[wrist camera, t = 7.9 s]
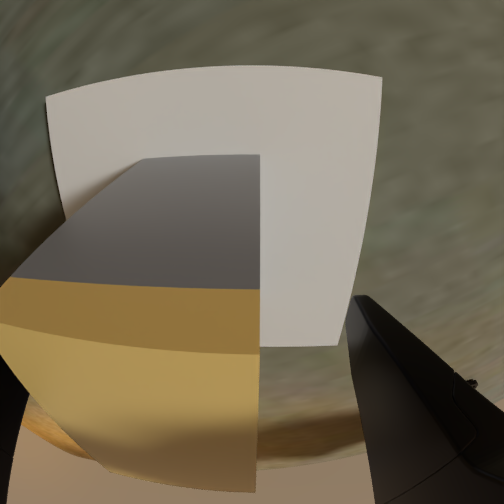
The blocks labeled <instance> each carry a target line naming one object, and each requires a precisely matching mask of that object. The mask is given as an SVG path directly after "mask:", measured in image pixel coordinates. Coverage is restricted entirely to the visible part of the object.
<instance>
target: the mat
mask: <svg viewBox="0 0 504 504" xmlns="http://www.w3.org/2000/svg"><path fill="white" fill-rule="evenodd" d="M381 93H382V77H376V76H371V75H365V74H358V73H352V72H344V71H336V70H327V69H317V68H305V67H289V66H215V67H199V68H187V69H177V70H168V71H160V72H153V73H146V74H140V75H134V76H128V77H123V78H118V79H113V80H108V81H103V82H99V83H94V84H90V85H86V86H82V87H78V88H74V89H71V90H67V91H64V92H60V93H57V94H54V95H50V96H47V97H46V107H47V118H48V126H49V134H50V142H51V149H52V155H53V161H54V167H55V172H56V177H57V182H58V187H59V192H60V196H61V201H62V205H63V209H64V213H65V217H66V221H67V220H68V219H69V218H70V217H71V216H72V215H73V214H74V213H76V212H77V211H78V210H79V209H80V208H81V207H83V206H84V205H85V204H86V203H87V202H88V201H90V200H91V199H92V198H93V197H94V196H96V195H97V194H98V193H99V192H101V191H102V190H103V189H104V188H106V187H107V186H108V185H109V184H111V183H112V182H113V181H114V180H116V179H117V178H118V177H120V176H121V175H122V174H123V173H125V172H126V171H127V170H129V169H130V168H131V167H133V166H134V165H136V164H137V163H138V162H140V161H141V160H142V159H146V158H159V157H175V156H195V155H234V154H260V346H270V347H284V346H329V345H338V341H339V338H340V334H341V330H342V327H343V323H344V319H345V316H346V312H347V308H348V304H349V300H350V296H351V292H352V287H353V283H354V279H355V274H356V270H357V265H358V261H359V256H360V251H361V246H362V241H363V236H364V231H365V225H366V220H367V214H368V208H369V202H370V195H371V189H372V182H373V175H374V167H375V159H376V151H377V142H378V132H379V121H380V108H381Z"/></svg>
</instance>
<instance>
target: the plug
mask: <svg viewBox="0 0 504 504" xmlns="http://www.w3.org/2000/svg"><path fill="white" fill-rule="evenodd" d="M0 355H1V356H2V358H3V359H4V360H5V362H6V363H7V365H8V366H9V367H10V369H11V370H12V371H13V373H14V374H15V375H16V377H17V378H18V379H19V381H20V382H21V383H22V384H23V386H24V387H25V388H26V389H27V391H28V392H29V393H30V394H31V395H32V397H33V398H34V399H35V400H36V401H37V402H38V404H39V405H40V406H41V407H42V408H43V409H44V410H45V411H46V413H47V414H48V415H49V416H50V417H51V418H52V419H53V420H54V421H55V422H56V423H57V424H58V425H59V426H60V427H61V428H62V429H63V430H64V431H65V432H66V433H67V434H68V435H69V436H70V437H71V438H72V439H73V440H74V441H75V442H76V443H77V444H78V445H79V446H80V447H81V448H82V449H84V450H85V451H86V452H87V453H88V454H89V455H90V456H91V457H93V458H94V459H95V460H96V461H97V462H98V463H100V464H101V465H102V466H103V467H104V468H106V469H107V470H108V471H109V472H112V473H116V474H120V475H124V476H127V477H132V478H136V479H140V480H145V481H150V482H155V483H160V484H166V485H172V486H179V487H186V488H194V489H202V490H203V489H204V490H213V491H227V492H248V493H255V491H256V490H255V489H256V463H257V432H258V398H259V360H260V154H234V155H195V156H175V157H159V158H146V159H142V160H141V161H140V162H138V163H137V164H136V165H134V166H133V167H131V168H130V169H129V170H127V171H126V172H125V173H123V174H122V175H121V176H120V177H118V178H117V179H116V180H114V181H113V182H112V183H111V184H109V185H108V186H107V187H106V188H104V189H103V190H102V191H101V192H99V193H98V194H97V195H96V196H94V197H93V198H92V199H91V200H90V201H88V202H87V203H86V204H85V205H84V206H83V207H81V208H80V209H79V210H78V211H77V212H76V213H74V214H73V215H72V216H71V217H70V218H69V219H68V220H67V221H66V222H64V223H63V224H62V225H61V226H60V227H59V228H58V229H57V230H56V231H55V232H54V233H53V234H51V235H50V236H49V237H48V238H47V239H46V240H45V241H44V242H43V243H42V244H41V245H40V246H39V247H38V248H37V249H36V250H35V251H34V252H33V253H32V254H31V255H30V256H29V257H28V258H27V259H26V260H25V261H24V262H23V263H22V264H21V265H20V266H19V268H18V269H17V270H16V271H15V272H14V273H13V274H12V275H11V276H10V277H9V278H8V280H7V281H6V282H5V283H4V284H3V285H2V286H1V287H0Z"/></svg>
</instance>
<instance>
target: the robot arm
mask: <svg viewBox="0 0 504 504" xmlns="http://www.w3.org/2000/svg"><path fill="white" fill-rule="evenodd" d="M346 333H347V341H348V349H349V358H350V367H351V375H352V380H353V385H354V389H355V394H356V398H357V403H358V408H359V413H360V418H361V423H362V428H363V433H364V438H365V443H366V449H367V455H368V460H369V466H370V472H371V478H372V485H373V492H374V499H375V504H504V412H503V411H501V410H500V409H499V408H498V407H497V406H495V405H494V404H493V403H491V402H490V401H489V400H488V399H487V398H485V397H484V396H483V395H482V394H480V393H479V392H478V391H477V390H476V389H475V388H476V387H477V386H478V383H477V381H476V380H473V381H469V382H467V381H465V380H464V379H463V378H462V377H461V376H460V375H459V374H458V373H457V372H454V370H453V369H452V368H451V367H450V366H449V365H448V364H447V363H446V362H444V361H443V360H442V359H441V358H440V357H439V356H438V355H437V354H435V353H434V352H433V351H432V350H431V349H430V348H429V347H428V346H426V345H425V344H424V343H423V342H422V341H421V340H420V339H418V338H417V337H416V336H415V335H414V334H413V333H412V332H410V331H409V330H408V329H407V328H406V327H405V326H403V325H402V324H401V323H400V322H399V321H398V320H396V319H395V318H394V317H393V316H392V315H391V314H389V313H388V312H387V311H386V310H385V309H383V308H382V307H381V306H380V305H379V304H377V303H376V302H375V301H374V300H373V299H372V298H370V297H369V296H367V295H354V296H353V297H352V298H351V301H350V305H349V309H348V312H347V316H346ZM29 394H30V393H29V392H28V391H27V389H26V388H25V387H24V386H23V384H22V383H21V382H20V381H19V379H18V378H17V377H16V375H15V374H14V373H13V371H12V370H11V369H10V367H9V366H8V365H7V363H6V362H5V360H4V359H3V358H2V356H1V355H0V504H6V503H7V494H8V486H9V480H10V474H11V468H12V463H13V456H14V452H15V447H16V442H17V438H18V434H19V430H20V426H21V422H22V418H23V415H24V411H25V407H26V404H27V401H28V397H29Z"/></svg>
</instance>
